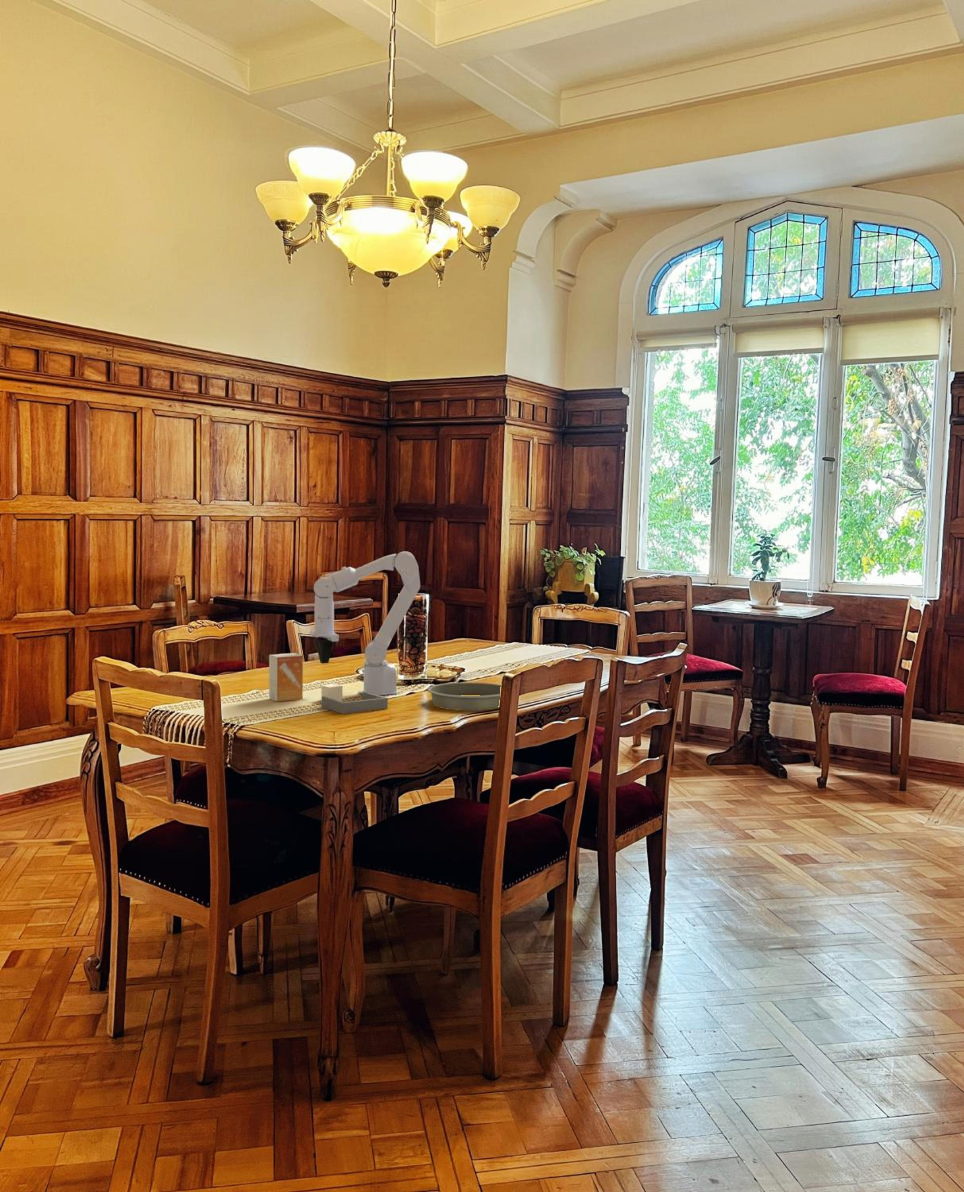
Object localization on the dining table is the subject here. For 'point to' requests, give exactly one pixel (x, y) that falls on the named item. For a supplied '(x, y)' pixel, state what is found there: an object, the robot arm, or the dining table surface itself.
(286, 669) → the small box
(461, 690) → the cake pan
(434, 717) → the dining table surface
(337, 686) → the ivory cube
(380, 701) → the gray tray
